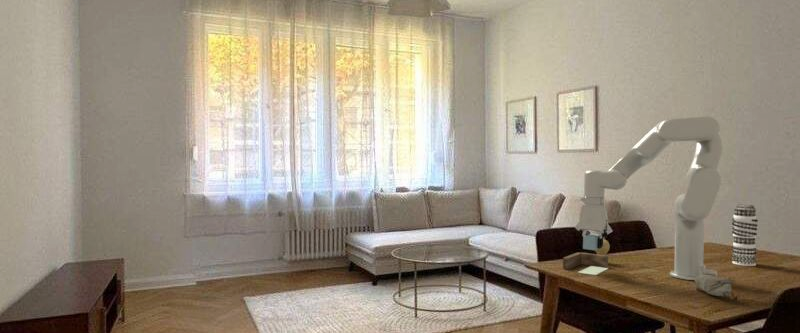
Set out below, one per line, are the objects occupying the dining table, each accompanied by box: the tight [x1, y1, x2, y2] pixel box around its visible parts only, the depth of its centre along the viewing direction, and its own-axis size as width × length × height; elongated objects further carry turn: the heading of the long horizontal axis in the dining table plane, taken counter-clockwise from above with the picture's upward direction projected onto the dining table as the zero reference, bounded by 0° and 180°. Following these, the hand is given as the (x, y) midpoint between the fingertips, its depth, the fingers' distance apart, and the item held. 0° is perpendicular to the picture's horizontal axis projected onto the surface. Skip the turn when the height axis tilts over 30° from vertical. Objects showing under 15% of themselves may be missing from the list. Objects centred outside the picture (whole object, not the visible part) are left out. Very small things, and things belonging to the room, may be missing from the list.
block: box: [582, 233, 599, 251], centre depth 203 cm, size 9×4×5 cm, turn 139°
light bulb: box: [594, 238, 611, 256], centre depth 219 cm, size 6×6×10 cm
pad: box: [577, 265, 609, 276], centre depth 203 cm, size 7×15×1 cm, turn 140°
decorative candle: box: [731, 203, 759, 267], centre depth 215 cm, size 9×9×25 cm
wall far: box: [562, 251, 582, 270], centre depth 211 cm, size 2×16×4 cm, turn 139°
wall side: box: [578, 251, 609, 268], centre depth 213 cm, size 12×2×4 cm, turn 50°
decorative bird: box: [694, 274, 738, 303], centre depth 167 cm, size 5×16×8 cm, turn 8°
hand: (593, 246), depth 203 cm, fingers closed on block, 4 cm apart
